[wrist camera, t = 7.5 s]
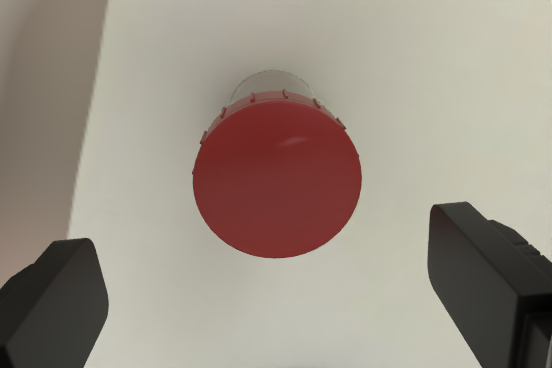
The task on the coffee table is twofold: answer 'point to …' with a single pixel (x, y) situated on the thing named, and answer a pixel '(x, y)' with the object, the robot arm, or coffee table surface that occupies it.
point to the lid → (276, 175)
